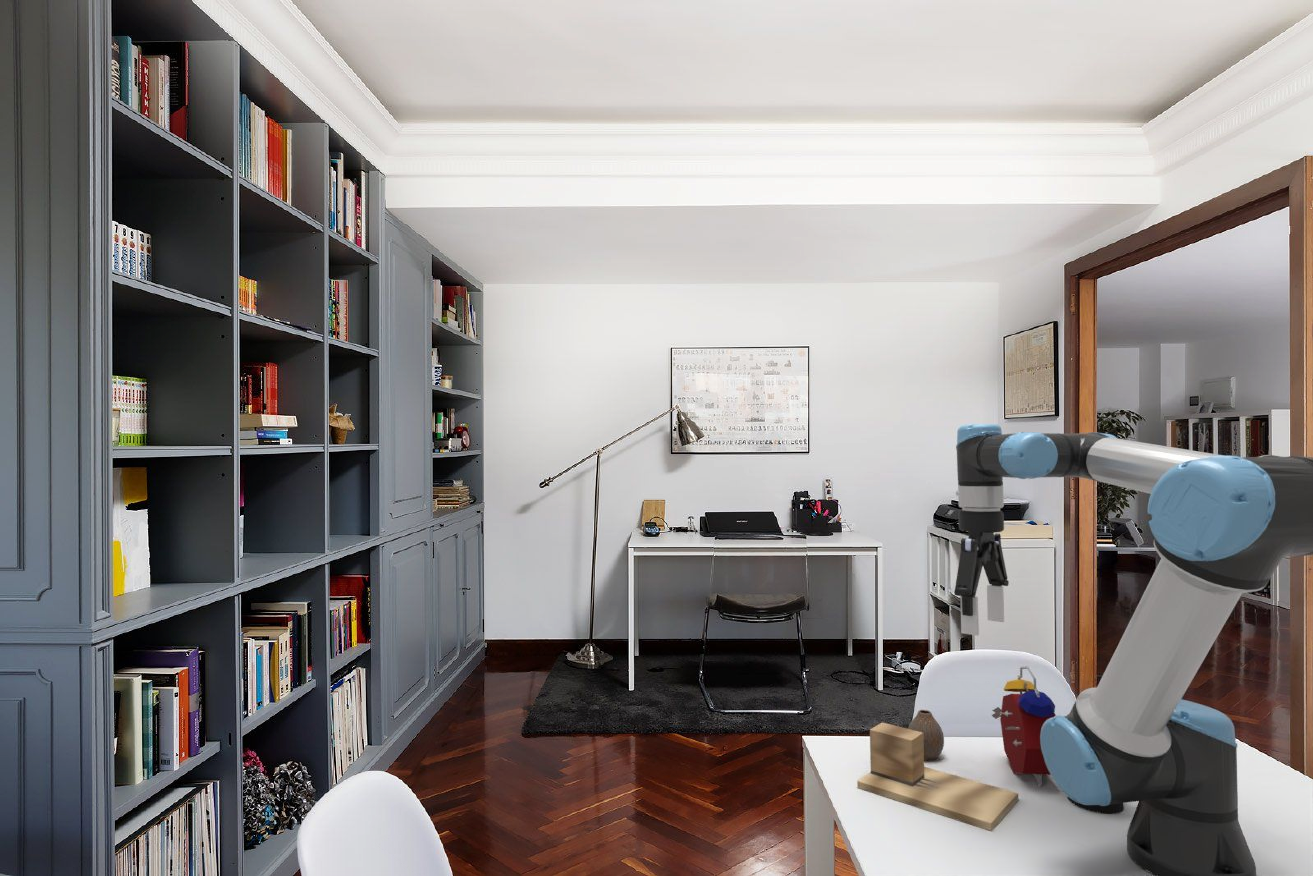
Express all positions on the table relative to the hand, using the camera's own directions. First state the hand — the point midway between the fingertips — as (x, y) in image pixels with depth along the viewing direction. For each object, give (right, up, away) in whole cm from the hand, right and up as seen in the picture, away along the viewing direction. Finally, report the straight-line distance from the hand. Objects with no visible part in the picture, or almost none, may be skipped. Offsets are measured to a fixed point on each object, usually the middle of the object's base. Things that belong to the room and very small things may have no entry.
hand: (983, 627), depth 131 cm
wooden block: (-15, -28, +2) cm, 31 cm away
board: (-10, -29, -3) cm, 30 cm away
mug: (+16, -29, -5) cm, 33 cm away
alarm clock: (+10, -29, +5) cm, 31 cm away
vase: (-5, -30, +14) cm, 33 cm away
